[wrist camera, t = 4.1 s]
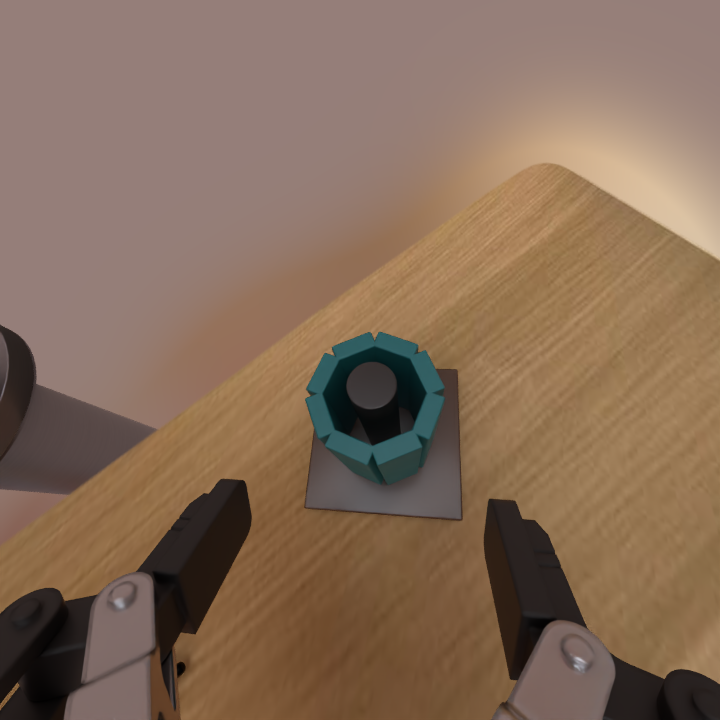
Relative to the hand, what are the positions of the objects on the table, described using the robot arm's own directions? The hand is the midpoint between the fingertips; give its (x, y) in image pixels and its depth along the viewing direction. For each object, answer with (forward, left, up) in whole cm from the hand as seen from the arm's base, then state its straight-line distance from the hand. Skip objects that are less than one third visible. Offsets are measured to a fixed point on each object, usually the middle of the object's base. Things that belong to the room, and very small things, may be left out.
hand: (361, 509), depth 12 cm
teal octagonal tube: (-2, +4, -10) cm, 11 cm away
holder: (-2, +4, -11) cm, 11 cm away
